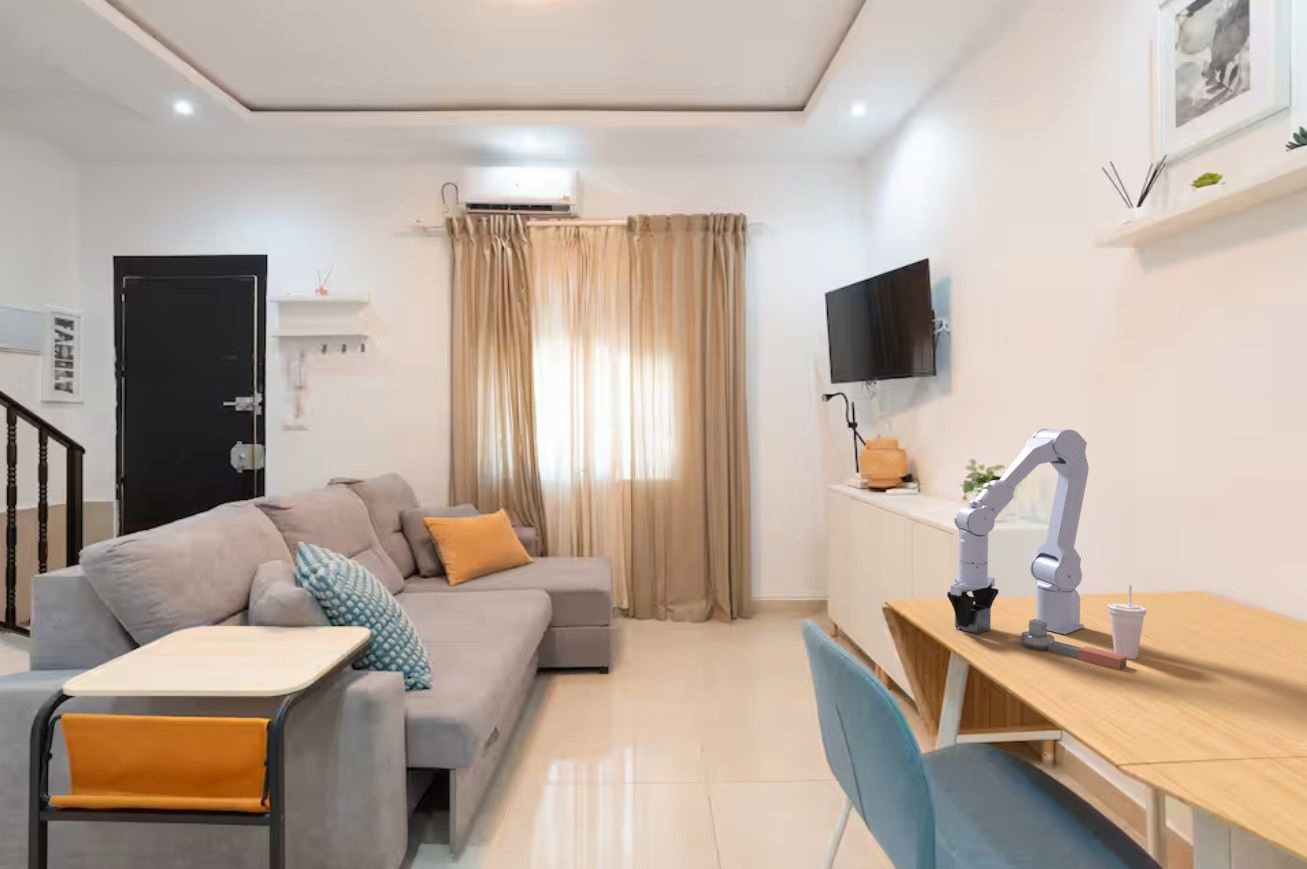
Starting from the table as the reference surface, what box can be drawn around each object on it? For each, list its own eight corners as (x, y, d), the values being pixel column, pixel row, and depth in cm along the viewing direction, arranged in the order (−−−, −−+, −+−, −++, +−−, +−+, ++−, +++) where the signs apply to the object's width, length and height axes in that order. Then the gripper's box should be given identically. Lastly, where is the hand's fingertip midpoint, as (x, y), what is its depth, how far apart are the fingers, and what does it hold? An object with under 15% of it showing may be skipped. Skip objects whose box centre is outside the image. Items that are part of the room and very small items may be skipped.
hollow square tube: (967, 624, 160) (968, 602, 160) (990, 630, 156) (990, 607, 155) (955, 628, 157) (955, 606, 157) (977, 634, 153) (977, 611, 152)
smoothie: (1151, 662, 135) (1153, 589, 135) (1114, 660, 137) (1116, 588, 136) (1136, 651, 142) (1137, 581, 141) (1100, 649, 143) (1102, 580, 142)
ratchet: (1129, 664, 134) (1129, 637, 134) (1116, 671, 131) (1116, 643, 130) (1030, 639, 149) (1030, 615, 149) (1015, 645, 146) (1015, 620, 145)
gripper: (974, 554, 163) (973, 613, 164) (937, 562, 155) (937, 624, 155) (1004, 560, 158) (1003, 620, 158) (968, 568, 149) (967, 632, 149)
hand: (972, 623), depth 156 cm, fingers open, 7 cm apart
